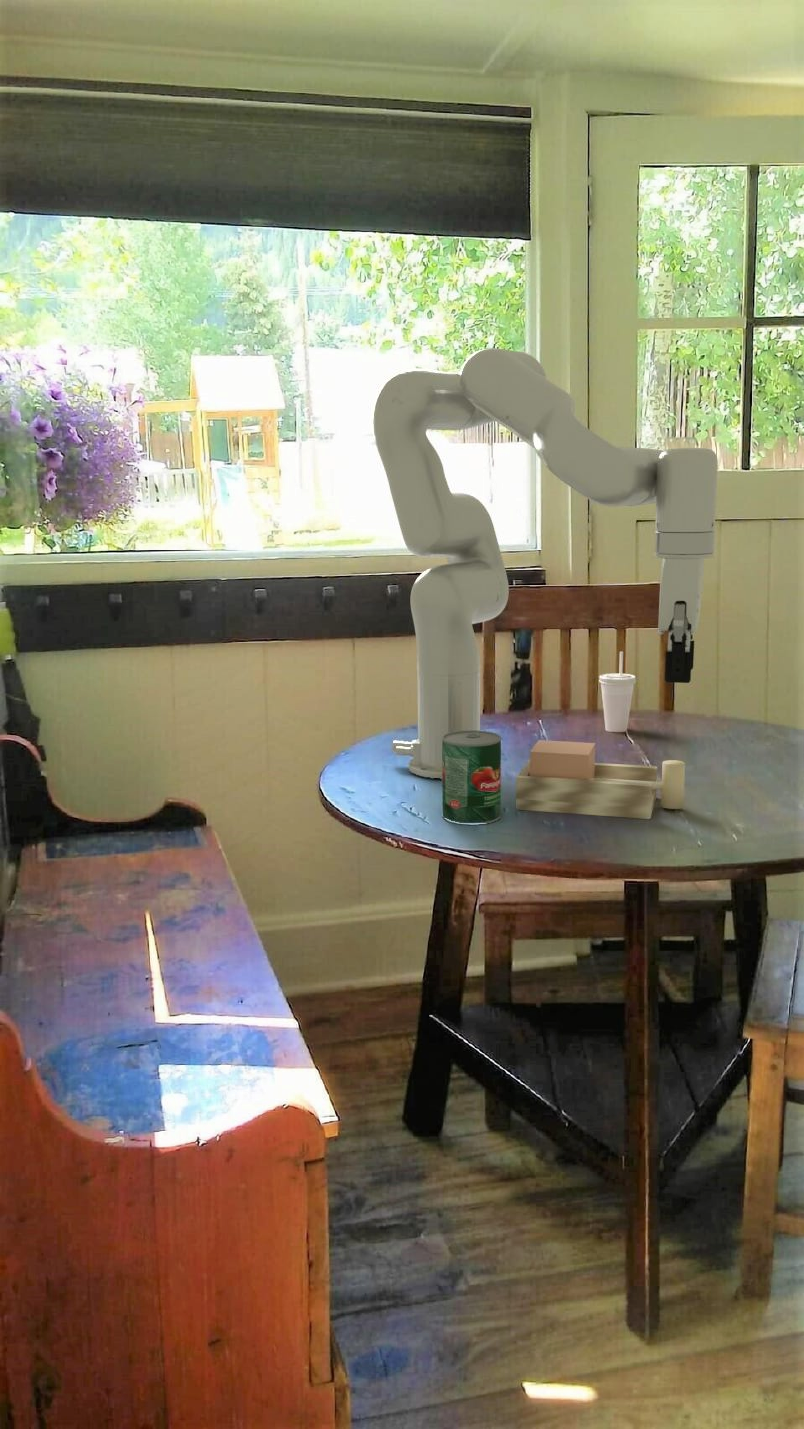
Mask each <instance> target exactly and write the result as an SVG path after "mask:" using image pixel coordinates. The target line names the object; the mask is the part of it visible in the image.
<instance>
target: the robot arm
mask: <svg viewBox="0 0 804 1429" xmlns="http://www.w3.org/2000/svg"><path fill="white" fill-rule="evenodd" d="M374 400H375V401H374V404H373V408H372V412H371V427H372V428H371V429H372V433H373V434H372V435H373V438H374V439H373V440H374V442H375V446H376V448H377V451H378V455H379V457H380V460H381V462H382V465H383V467H384V471H385V475H386V478H387V482H388V485H389V486H388V487H389V491H390V494H391V498H392V501H393V505H394V510H395V513H396V517H397V520H398V524H399V528H400V533H401V535H402V538H403V541H404V544H405V546H406V548H407V549H408V550H409V551H410V552H411V554H413V555H415V556H416V557H419V558H425V559H435V558H446V560H447V564H440V565H437V566H434V567H430V568H428V569H426V570H425V571H424V572H422V573H421V574H419V576H418V577H417V578H416V579H415V581H414V583H413V585H412V587H411V592H410V597H409V598H410V610H411V615H412V622H413V626H414V633H415V641H416V656H417V657H416V661H417V662H416V666H417V667H416V671H417V737H418V738H417V739H413V740H412V741H405V740H393V742H392V752H393V753H395V755H396V756H410V758H412V759H410V760H409V762H408V772H410V773H412V774H413V773H414V774H413V775H415V774H416V775H415V776H418V775H419V777H422V776H423V777H422V778H427V777H432V778H431V779H434V778H440V779H439V780H442V736H443V735H445V734H447V733H450V732H456V731H467V730H476V731H481V660H480V659H481V657H480V650H479V649H480V648H479V644H478V640H477V638H476V635H475V632H474V628H473V625H475V624H480V623H484V622H488V621H491V620H493V619H494V618H497V617H498V616H499V615H500V614H501V613H502V612H503V611H504V609H505V608H506V606H507V603H508V600H509V592H510V587H509V580H508V575H507V571H506V567H505V564H504V560H503V556H502V553H501V549H500V545H499V541H498V538H497V534H496V530H495V526H494V522H493V520H492V517H491V515H490V513H489V511H488V510H487V508H486V507H485V505H484V504H483V502H481V501H480V500H479V499H478V498H476V497H475V496H472V495H470V494H467V493H461V492H455V493H454V492H451V489H450V487H449V484H448V480H447V479H446V478H447V477H446V474H445V471H444V467H443V463H442V459H441V458H440V456H439V453H438V452H437V450H436V448H435V447H434V445H433V444H432V442H431V441H430V440H429V438H428V436H427V431H428V430H431V431H432V430H434V431H461V430H462V431H463V430H467V429H468V430H469V429H472V428H476V427H479V426H483V425H486V424H489V423H490V424H491V423H493V422H497V423H498V424H499V425H501V426H502V427H504V428H505V429H506V430H507V431H509V432H511V433H512V434H514V435H515V436H516V437H518V438H519V439H521V440H522V441H524V442H525V443H527V444H528V445H529V446H531V447H532V448H533V449H534V451H535V453H536V456H537V457H538V458H539V459H540V460H541V462H542V463H543V464H544V466H545V467H546V468H547V469H548V470H549V471H550V472H551V474H553V475H554V476H555V477H556V478H558V479H559V480H560V481H562V482H563V483H564V484H566V485H568V486H569V487H570V488H572V489H573V490H574V491H575V492H578V494H580V495H582V496H583V497H585V498H586V499H588V500H589V501H591V502H593V503H595V504H597V505H600V506H604V507H608V508H615V507H616V508H617V507H636V506H637V507H638V506H647V505H653V504H655V523H654V525H655V527H654V528H655V530H654V531H655V532H654V553H653V554H654V555H653V556H654V558H657V559H658V558H659V559H662V561H661V569H660V580H659V581H660V582H659V599H658V601H659V606H658V626H657V632H658V634H660V635H664V633H665V632H667V631H668V637H667V650H665V664H664V665H665V666H664V669H665V670H664V671H665V672H664V681H665V682H666V683H676V684H678V683H680V684H682V683H683V684H689V683H690V682H691V679H692V678H691V675H692V670H693V669H694V658H695V657H694V656H695V655H694V654H695V640H694V639H693V636H694V634H696V633H697V630H698V625H699V621H700V618H701V617H700V616H701V610H702V609H701V607H702V598H703V584H704V583H703V582H704V566H705V562H704V561H705V559H711V558H714V557H715V556H714V555H715V553H714V552H715V539H716V538H715V536H716V534H715V533H716V512H717V511H716V509H717V508H716V507H717V488H718V456H717V454H716V452H715V451H714V450H712V449H709V448H707V447H706V448H705V447H686V448H685V447H683V448H669V449H665V450H661V449H653V448H646V447H628V446H626V447H623V446H622V447H619V446H618V447H617V446H616V445H613V444H612V443H610V442H608V441H607V440H605V439H604V438H602V437H600V436H599V435H598V434H597V433H595V432H593V431H592V430H590V429H589V428H588V427H587V426H585V425H584V424H583V423H582V422H581V421H579V420H578V419H577V417H576V416H575V410H576V405H575V400H574V398H573V397H572V395H571V394H570V393H568V392H566V391H565V390H564V389H563V388H560V387H559V386H558V385H556V384H554V383H553V382H551V381H550V380H549V379H547V375H546V371H545V369H544V368H543V366H542V364H541V363H540V362H539V361H538V359H536V357H534V356H533V355H531V354H529V353H526V352H522V351H516V350H510V349H509V350H508V349H505V348H504V349H502V348H496V347H494V348H493V347H492V348H484V349H479V350H478V351H476V352H474V353H473V354H471V355H470V356H469V357H468V358H467V359H466V361H464V363H463V365H462V366H461V369H460V372H450V371H441V370H432V369H425V368H423V369H422V368H414V369H408V370H407V369H406V370H404V371H400V372H398V373H395V374H394V375H392V376H391V377H389V379H387V380H386V382H384V384H383V385H382V386H381V387H380V389H379V391H378V394H377V395H376V398H375V399H374Z"/></svg>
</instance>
